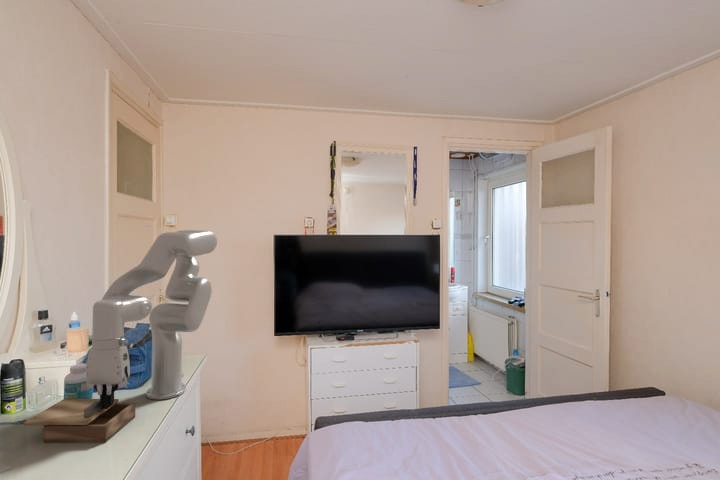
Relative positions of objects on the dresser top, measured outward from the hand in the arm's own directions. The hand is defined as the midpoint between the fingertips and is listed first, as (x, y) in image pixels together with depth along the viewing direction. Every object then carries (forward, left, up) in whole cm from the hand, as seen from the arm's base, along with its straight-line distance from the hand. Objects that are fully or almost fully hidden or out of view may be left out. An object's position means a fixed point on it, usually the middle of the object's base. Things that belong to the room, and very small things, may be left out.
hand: (106, 406), depth 105 cm
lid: (0, -9, -2) cm, 9 cm away
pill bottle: (-13, -17, -7) cm, 22 cm away
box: (0, -4, -6) cm, 7 cm away
